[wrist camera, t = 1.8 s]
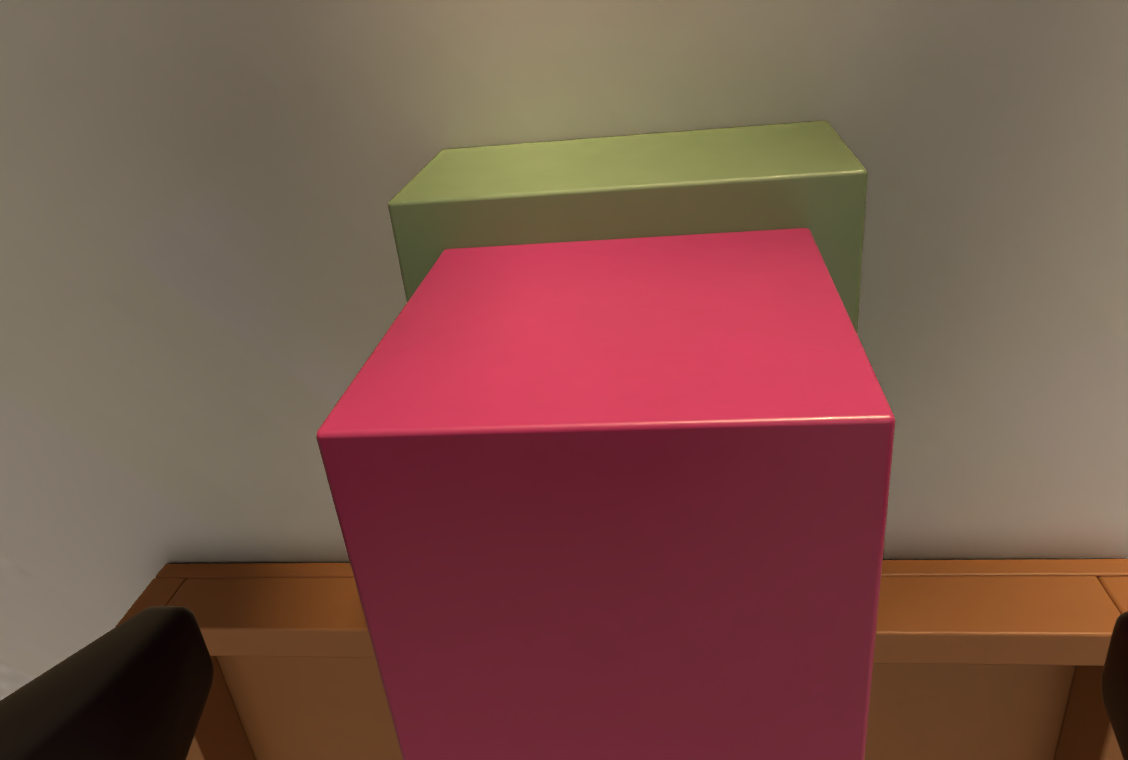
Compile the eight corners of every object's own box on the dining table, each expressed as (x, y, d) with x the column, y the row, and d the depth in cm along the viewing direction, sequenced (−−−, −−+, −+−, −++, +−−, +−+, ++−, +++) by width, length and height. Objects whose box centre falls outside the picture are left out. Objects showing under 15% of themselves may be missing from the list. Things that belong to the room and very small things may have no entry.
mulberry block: (810, 226, 11) (898, 417, 7) (799, 530, 14) (860, 819, 9) (443, 247, 12) (312, 433, 8) (492, 533, 14) (411, 802, 10)
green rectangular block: (828, 119, 14) (868, 169, 11) (814, 456, 17) (843, 564, 14) (440, 148, 15) (385, 202, 12) (491, 464, 18) (457, 566, 15)
